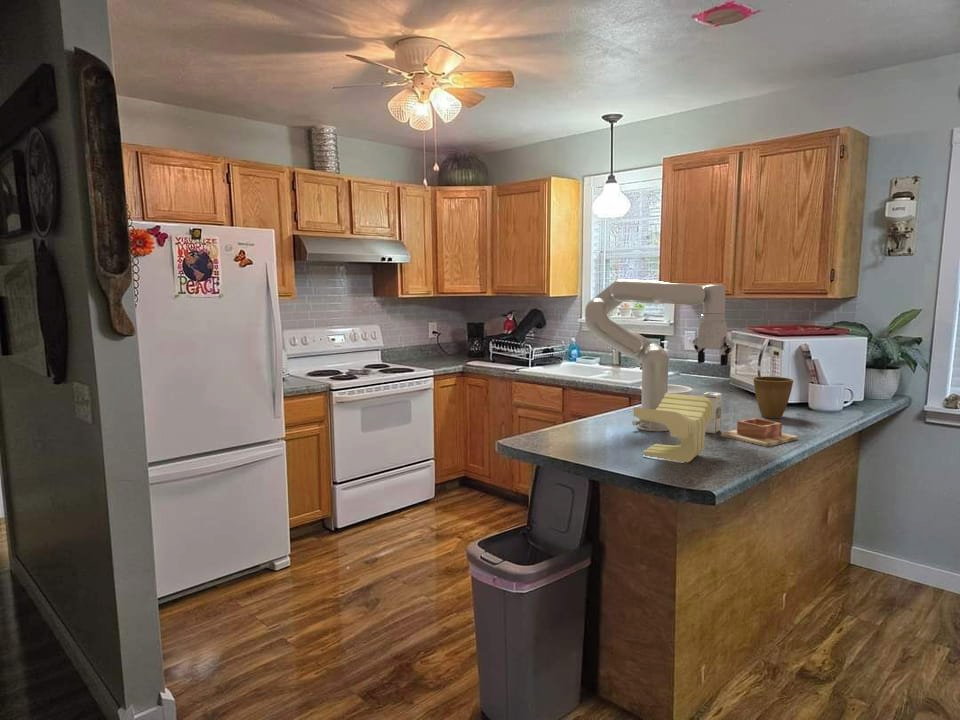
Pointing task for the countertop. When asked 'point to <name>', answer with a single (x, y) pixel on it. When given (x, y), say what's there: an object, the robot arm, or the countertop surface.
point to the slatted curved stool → (679, 425)
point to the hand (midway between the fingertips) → (712, 364)
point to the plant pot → (772, 395)
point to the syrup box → (714, 411)
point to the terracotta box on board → (759, 432)
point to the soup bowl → (677, 389)
